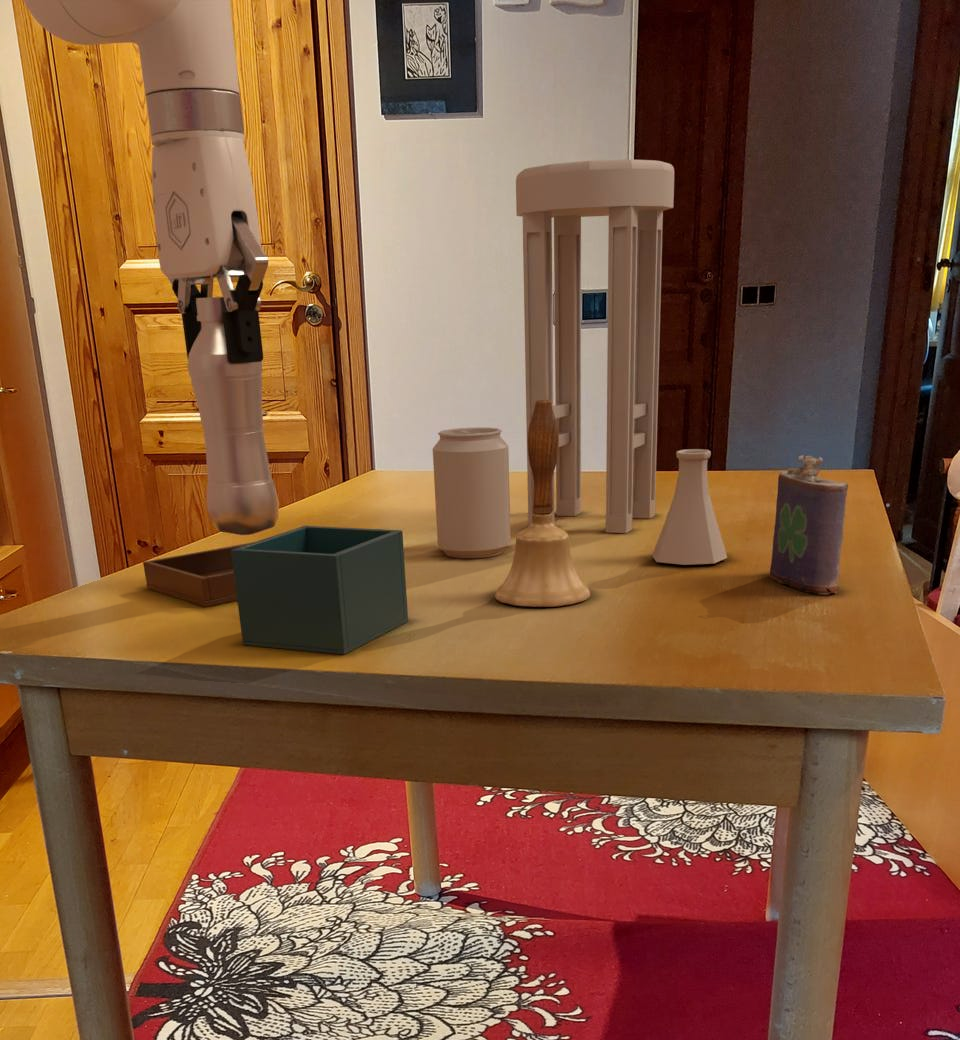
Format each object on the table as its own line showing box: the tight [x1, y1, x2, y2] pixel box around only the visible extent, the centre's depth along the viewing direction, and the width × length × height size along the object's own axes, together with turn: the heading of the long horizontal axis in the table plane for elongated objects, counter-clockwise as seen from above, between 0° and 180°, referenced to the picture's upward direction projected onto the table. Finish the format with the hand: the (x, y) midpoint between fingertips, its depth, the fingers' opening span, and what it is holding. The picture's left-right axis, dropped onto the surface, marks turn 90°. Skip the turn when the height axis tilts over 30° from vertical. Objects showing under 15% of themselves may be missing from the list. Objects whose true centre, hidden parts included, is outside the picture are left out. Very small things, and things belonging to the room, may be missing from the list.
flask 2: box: [769, 455, 849, 596], centre depth 100 cm, size 9×3×11 cm, turn 16°
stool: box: [515, 158, 675, 534], centre depth 126 cm, size 16×16×35 cm
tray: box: [142, 541, 254, 608], centre depth 111 cm, size 16×11×2 cm
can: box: [432, 427, 512, 559], centre depth 117 cm, size 8×8×12 cm
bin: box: [231, 525, 409, 655], centre depth 92 cm, size 10×9×7 cm
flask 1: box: [651, 448, 728, 566], centre depth 111 cm, size 7×7×10 cm
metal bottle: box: [186, 296, 280, 536], centre depth 105 cm, size 6×7×20 cm
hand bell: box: [494, 400, 591, 608], centre depth 98 cm, size 8×8×16 cm
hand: (225, 359), depth 103 cm, fingers closed on metal bottle, 6 cm apart
